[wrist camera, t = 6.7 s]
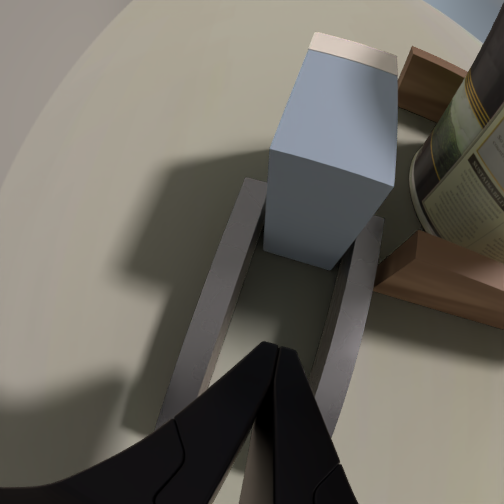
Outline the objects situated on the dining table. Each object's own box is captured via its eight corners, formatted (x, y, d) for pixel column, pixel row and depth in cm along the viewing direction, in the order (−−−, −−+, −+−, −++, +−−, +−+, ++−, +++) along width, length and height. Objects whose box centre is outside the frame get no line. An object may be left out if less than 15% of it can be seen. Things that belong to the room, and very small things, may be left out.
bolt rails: (303, 466, 12) (312, 484, 10) (168, 425, 13) (152, 436, 10) (367, 238, 16) (384, 218, 13) (246, 202, 16) (245, 176, 14)
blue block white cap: (330, 270, 15) (394, 185, 8) (262, 250, 16) (268, 148, 8) (353, 161, 17) (396, 55, 10) (296, 145, 18) (315, 31, 10)
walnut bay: (538, 339, 13) (589, 326, 8) (369, 290, 15) (415, 258, 10) (525, 162, 18) (555, 131, 13) (391, 94, 20) (412, 45, 15)
